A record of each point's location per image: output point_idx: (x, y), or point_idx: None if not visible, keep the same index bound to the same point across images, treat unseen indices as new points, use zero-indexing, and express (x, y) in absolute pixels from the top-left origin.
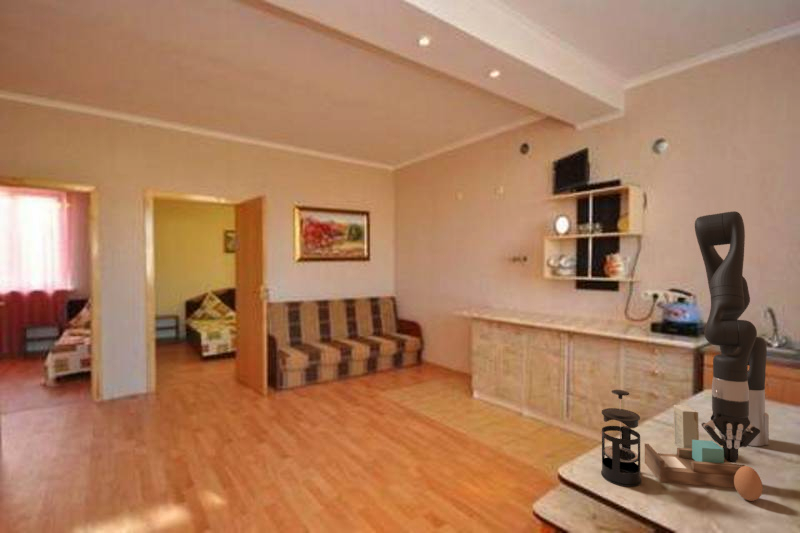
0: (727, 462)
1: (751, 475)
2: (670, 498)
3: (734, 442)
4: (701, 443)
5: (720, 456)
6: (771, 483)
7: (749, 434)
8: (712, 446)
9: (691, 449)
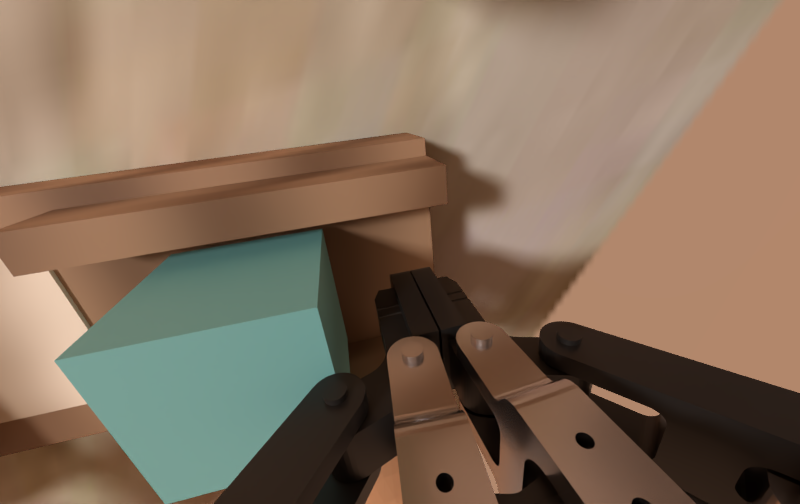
0: (412, 212)
1: None
2: (92, 494)
3: (481, 448)
4: (170, 421)
5: None
6: (546, 230)
7: (715, 501)
8: None
9: (141, 229)
